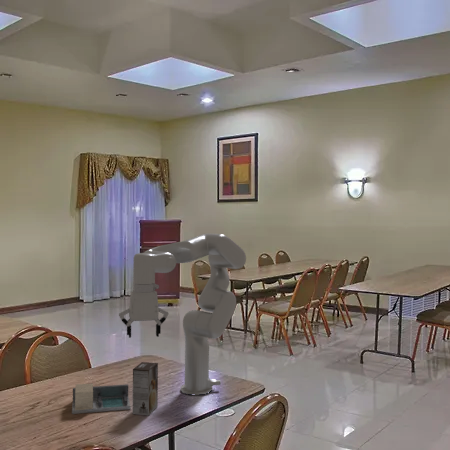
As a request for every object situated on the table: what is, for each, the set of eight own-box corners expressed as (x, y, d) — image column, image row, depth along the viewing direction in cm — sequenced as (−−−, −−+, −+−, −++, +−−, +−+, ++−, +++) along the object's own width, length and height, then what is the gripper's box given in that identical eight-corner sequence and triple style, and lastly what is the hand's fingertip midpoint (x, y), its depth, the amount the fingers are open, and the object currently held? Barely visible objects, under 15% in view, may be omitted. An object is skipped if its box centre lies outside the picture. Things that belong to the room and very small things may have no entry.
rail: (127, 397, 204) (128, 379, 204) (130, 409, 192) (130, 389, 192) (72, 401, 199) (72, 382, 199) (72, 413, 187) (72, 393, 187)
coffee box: (141, 405, 197) (141, 361, 196) (158, 406, 196) (158, 362, 195) (131, 414, 188) (132, 368, 187) (149, 416, 187) (150, 369, 186)
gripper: (167, 286, 196) (166, 333, 197) (118, 287, 193) (118, 334, 193) (169, 289, 189) (169, 338, 190) (119, 290, 185) (119, 340, 186)
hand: (143, 336), depth 191 cm, fingers open, 9 cm apart
